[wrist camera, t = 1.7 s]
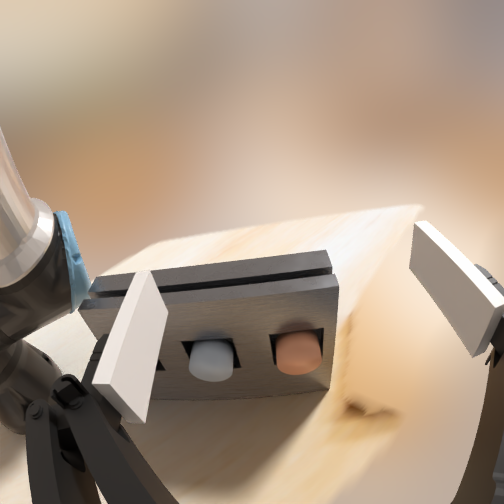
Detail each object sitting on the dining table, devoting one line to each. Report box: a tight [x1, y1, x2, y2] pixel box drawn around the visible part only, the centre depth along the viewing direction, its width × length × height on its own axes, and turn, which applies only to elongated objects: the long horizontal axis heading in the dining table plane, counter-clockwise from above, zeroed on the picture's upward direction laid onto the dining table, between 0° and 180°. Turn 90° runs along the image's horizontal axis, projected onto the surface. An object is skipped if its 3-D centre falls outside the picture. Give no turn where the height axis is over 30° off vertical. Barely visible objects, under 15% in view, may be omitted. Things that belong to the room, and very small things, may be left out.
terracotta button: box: [275, 329, 322, 375], centre depth 26 cm, size 4×2×4 cm, turn 91°
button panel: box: [78, 250, 339, 400], centre depth 30 cm, size 23×5×16 cm, turn 91°
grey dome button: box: [189, 339, 234, 382], centre depth 26 cm, size 4×2×4 cm, turn 91°
